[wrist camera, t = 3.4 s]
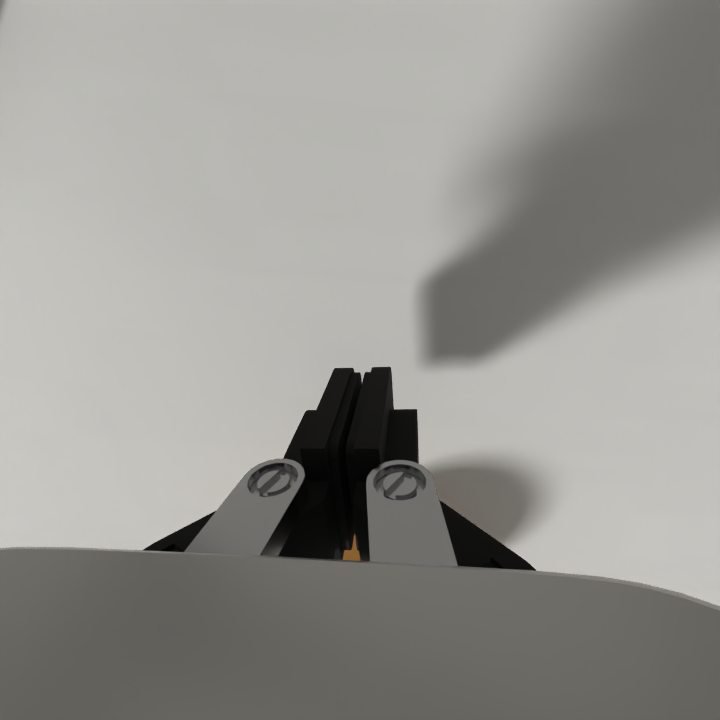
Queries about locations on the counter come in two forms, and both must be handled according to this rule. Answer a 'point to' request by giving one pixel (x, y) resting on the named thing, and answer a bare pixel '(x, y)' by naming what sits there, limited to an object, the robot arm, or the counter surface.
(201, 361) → the counter surface
